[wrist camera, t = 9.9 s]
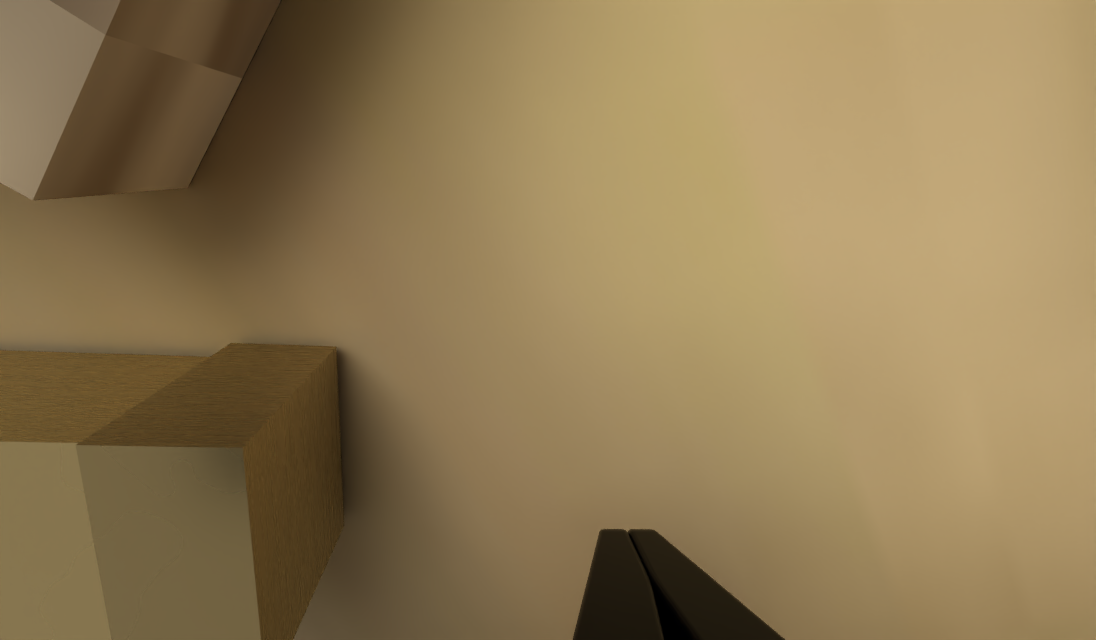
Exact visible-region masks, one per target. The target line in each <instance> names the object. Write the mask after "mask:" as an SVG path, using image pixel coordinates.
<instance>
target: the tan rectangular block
mask: <svg viewBox="0 0 1096 640" xmlns="http://www.w3.org/2000/svg"><path fill="white" fill-rule="evenodd" d="M343 527H344V510H343V488H342V465H341V442H340V420H339V397H338V374H337V351H336V347H332V346H302V345H272V344H241V343H231V344H229V345H227V346H226V347H224V348H223V349H221V350H220V351H218V352H217V353H215V354H214V355H212V356H211V357H195V356H162V355H130V354H98V353H65V352H33V351H0V640H293V638H294V636H295V634H296V632H297V629H298V627H299V625H300V623H301V620H302V618H303V616H304V614H305V612H306V609H307V607H308V605H309V603H310V600H311V598H312V596H313V594H314V591H315V589H316V587H317V585H318V583H319V580H320V578H321V576H322V574H323V571H324V569H325V567H326V565H327V562H328V560H329V558H330V556H331V553H332V551H333V549H334V547H335V545H336V542H337V540H338V538H339V536H340V533H341V531H342V529H343Z"/></svg>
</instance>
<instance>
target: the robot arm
mask: <svg viewBox="0 0 1096 640" xmlns="http://www.w3.org/2000/svg"><path fill="white" fill-rule="evenodd" d="M573 640H785V639H784V638H783V637H781V636H780V635H779V634H778V633H777V632H776V631H774V630H773V629H772V628H771V627H770V626H768V625H767V624H766V623H765V622H764V621H762V620H761V619H760V618H759V617H758V616H756V615H755V614H754V613H753V612H752V611H751V610H749V609H748V608H747V607H746V606H745V605H743V604H742V603H741V602H740V601H739V600H737V599H736V598H735V597H734V596H733V595H731V594H730V593H729V592H728V591H727V590H726V589H724V588H723V587H722V586H721V585H720V584H718V583H717V582H716V581H715V580H714V579H712V578H711V577H710V576H709V575H708V574H706V573H705V572H704V571H703V570H702V569H701V568H699V567H698V566H697V565H696V564H695V563H693V562H692V561H691V560H690V559H689V558H687V557H686V556H685V555H684V554H683V553H681V552H680V551H679V550H678V549H677V548H676V547H674V546H673V545H672V544H671V543H670V542H668V541H667V540H666V539H665V538H664V537H662V536H661V535H660V534H659V533H658V532H656V531H655V530H652V529H631V530H629V531H628V532H627V531H626V530H623V529H602V530H601V531H600V532H599V536H598V540H597V544H596V548H595V552H594V556H593V560H592V564H591V568H590V572H589V576H588V580H587V584H586V588H585V592H584V596H583V600H582V604H581V608H580V612H579V616H578V620H577V624H576V628H575V632H574V636H573Z"/></svg>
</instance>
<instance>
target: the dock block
mask: <svg viewBox="0 0 1096 640" xmlns="http://www.w3.org/2000/svg"><path fill="white" fill-rule="evenodd" d="M280 2H281V0H0V183H2V184H4V185H5V186H7V187H9V188H11V189H13V190H15V191H16V192H18V193H20V194H22V195H24V196H26V197H27V198H29V199H31V200H44V199H57V198H69V197H82V196H94V195H107V194H119V193H132V192H144V191H157V190H169V189H182V188H188V186H189V184H190V182H191V180H192V178H193V176H194V174H195V172H196V170H197V168H198V166H199V164H200V162H201V160H202V158H203V156H204V154H205V152H206V150H207V148H208V146H209V144H210V142H211V140H212V138H213V136H214V134H215V132H216V130H217V128H218V126H219V124H220V122H221V120H222V118H223V116H224V114H225V112H226V110H227V108H228V106H229V104H230V102H231V100H232V98H233V96H234V94H235V92H236V90H237V88H238V86H239V84H240V82H241V80H242V78H243V76H244V74H245V72H246V70H247V68H248V66H249V64H250V62H251V60H252V58H253V56H254V54H255V52H256V50H257V48H258V46H259V44H260V42H261V40H262V38H263V36H264V34H265V32H266V30H267V28H268V26H269V24H270V22H271V20H272V18H273V16H274V14H275V12H276V10H277V8H278V6H279V4H280Z"/></svg>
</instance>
